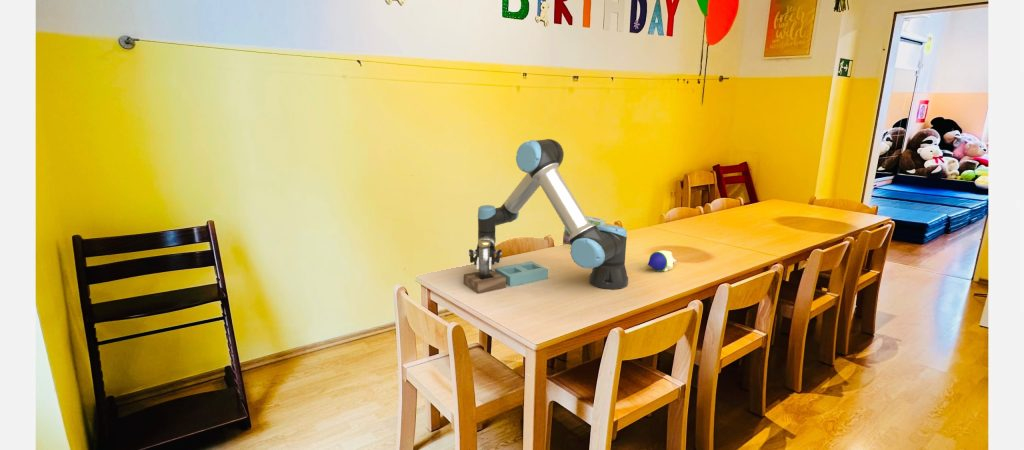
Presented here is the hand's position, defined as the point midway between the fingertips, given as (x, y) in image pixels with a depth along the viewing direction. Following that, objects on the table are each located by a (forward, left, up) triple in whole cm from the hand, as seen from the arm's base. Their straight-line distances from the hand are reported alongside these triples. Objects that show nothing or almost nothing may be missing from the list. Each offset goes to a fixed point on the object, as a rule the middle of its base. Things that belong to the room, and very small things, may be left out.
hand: (483, 265), depth 186 cm
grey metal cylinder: (+5, -3, -10) cm, 11 cm away
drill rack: (+5, -20, -10) cm, 23 cm away
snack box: (+28, -72, -10) cm, 78 cm away
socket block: (+5, -3, -10) cm, 11 cm away
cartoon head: (-17, -77, -10) cm, 79 cm away
